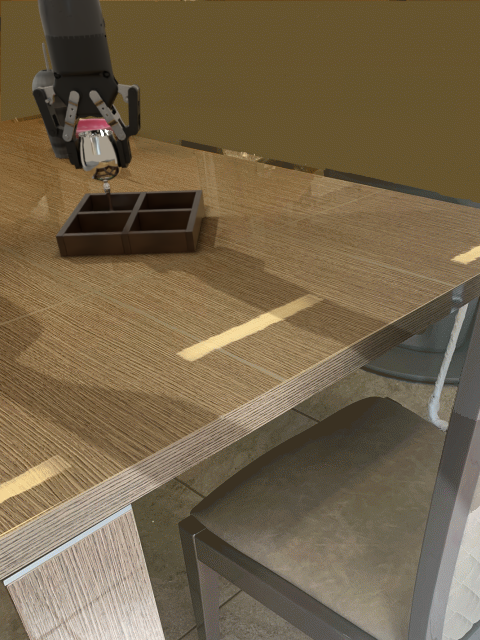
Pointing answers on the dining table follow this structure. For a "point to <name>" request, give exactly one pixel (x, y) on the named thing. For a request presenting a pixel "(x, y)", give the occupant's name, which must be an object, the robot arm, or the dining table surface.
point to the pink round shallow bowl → (92, 125)
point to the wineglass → (100, 157)
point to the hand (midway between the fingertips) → (102, 166)
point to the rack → (133, 223)
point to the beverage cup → (46, 80)
